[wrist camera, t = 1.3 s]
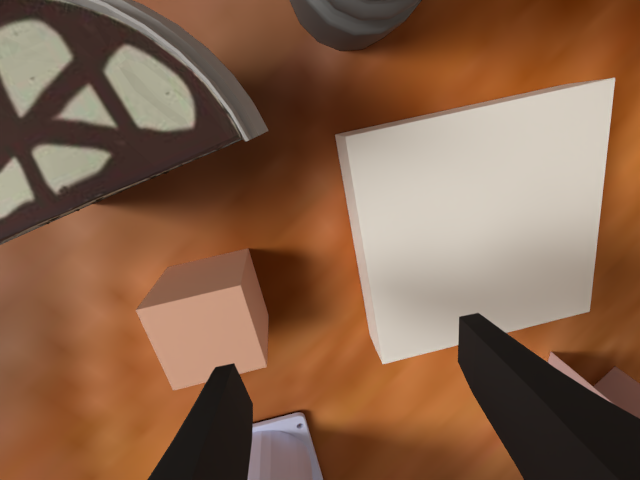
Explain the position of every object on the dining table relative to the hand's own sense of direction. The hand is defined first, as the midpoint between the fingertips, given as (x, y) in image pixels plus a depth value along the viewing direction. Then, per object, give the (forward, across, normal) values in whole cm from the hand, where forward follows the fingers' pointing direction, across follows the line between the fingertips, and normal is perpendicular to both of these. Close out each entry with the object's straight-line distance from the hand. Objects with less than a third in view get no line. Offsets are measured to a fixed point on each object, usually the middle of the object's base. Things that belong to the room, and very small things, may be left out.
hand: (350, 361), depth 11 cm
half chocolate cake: (+12, +8, -8) cm, 16 cm away
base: (+11, -9, +2) cm, 15 cm away
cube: (+10, +7, +3) cm, 13 cm away
